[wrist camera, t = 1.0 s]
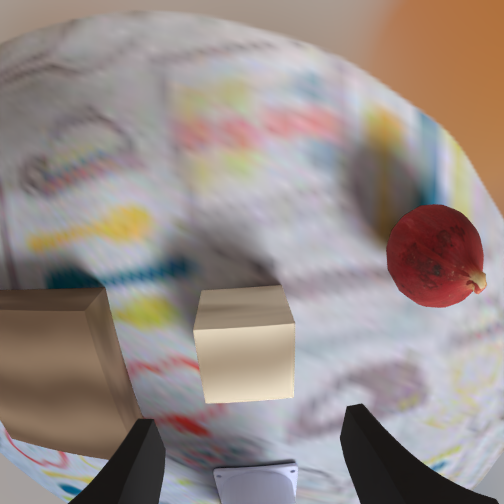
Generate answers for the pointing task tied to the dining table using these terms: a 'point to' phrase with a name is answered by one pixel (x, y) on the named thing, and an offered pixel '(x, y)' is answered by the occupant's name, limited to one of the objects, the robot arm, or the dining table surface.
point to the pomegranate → (436, 256)
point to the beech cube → (245, 344)
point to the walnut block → (64, 372)
